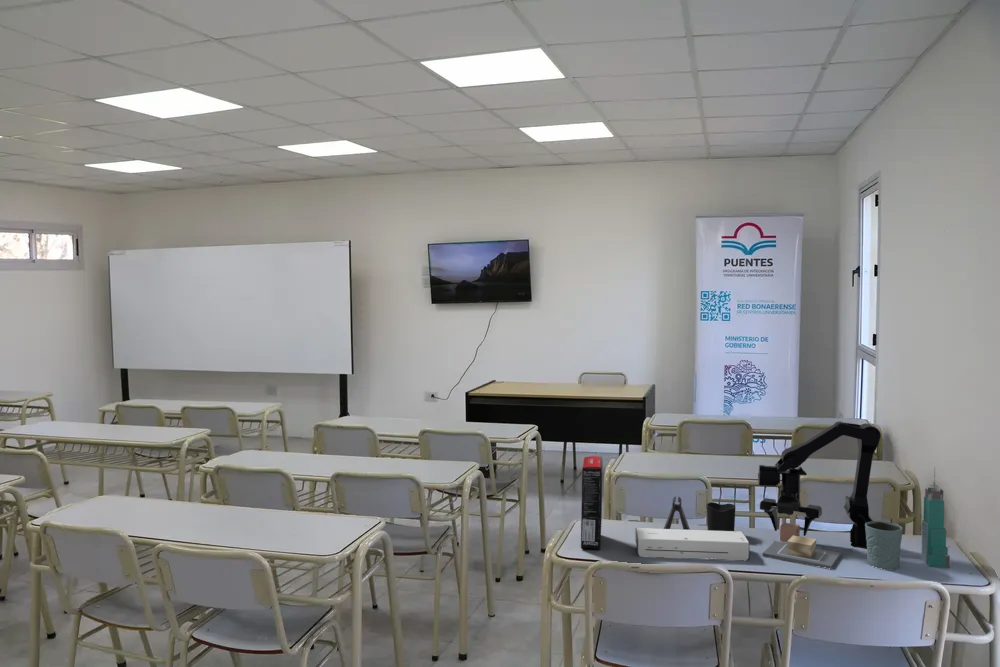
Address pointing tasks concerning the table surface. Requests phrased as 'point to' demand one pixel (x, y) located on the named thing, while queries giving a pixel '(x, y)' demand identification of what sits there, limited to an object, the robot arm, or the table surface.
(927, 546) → the building
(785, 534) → the terracotta block
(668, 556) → the laminator
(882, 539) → the green embossed cup
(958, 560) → the table surface
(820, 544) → the table surface
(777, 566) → the table surface
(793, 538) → the oak base block
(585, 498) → the graphics card box
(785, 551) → the grey flat plate
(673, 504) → the pliers
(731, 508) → the pen holder
